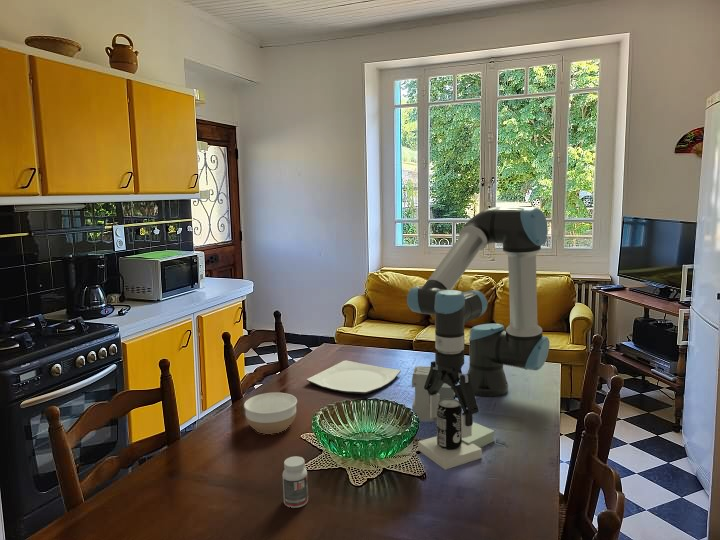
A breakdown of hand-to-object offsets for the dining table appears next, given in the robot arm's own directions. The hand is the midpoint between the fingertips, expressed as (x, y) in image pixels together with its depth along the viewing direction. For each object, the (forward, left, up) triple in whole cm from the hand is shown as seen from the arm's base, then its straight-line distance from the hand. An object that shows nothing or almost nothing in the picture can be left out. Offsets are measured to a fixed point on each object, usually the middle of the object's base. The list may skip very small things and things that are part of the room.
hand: (450, 426), depth 141 cm
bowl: (+36, -41, -8) cm, 55 cm away
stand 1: (0, 0, -8) cm, 8 cm away
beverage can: (0, 0, -5) cm, 5 cm away
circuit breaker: (-11, -21, -8) cm, 25 cm away
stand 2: (-9, -4, -8) cm, 12 cm away
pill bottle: (+44, 0, -8) cm, 45 cm away
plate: (-4, -63, -8) cm, 64 cm away
